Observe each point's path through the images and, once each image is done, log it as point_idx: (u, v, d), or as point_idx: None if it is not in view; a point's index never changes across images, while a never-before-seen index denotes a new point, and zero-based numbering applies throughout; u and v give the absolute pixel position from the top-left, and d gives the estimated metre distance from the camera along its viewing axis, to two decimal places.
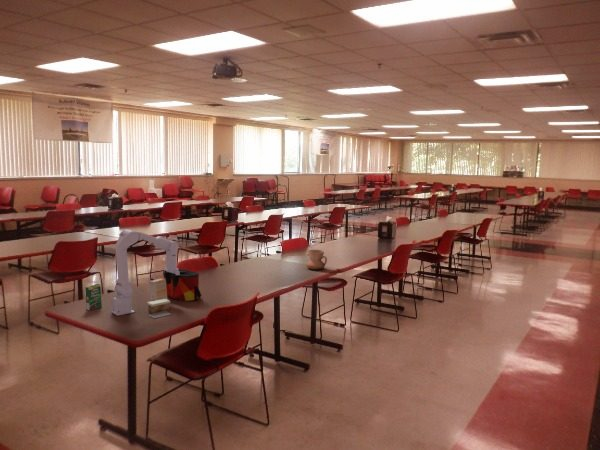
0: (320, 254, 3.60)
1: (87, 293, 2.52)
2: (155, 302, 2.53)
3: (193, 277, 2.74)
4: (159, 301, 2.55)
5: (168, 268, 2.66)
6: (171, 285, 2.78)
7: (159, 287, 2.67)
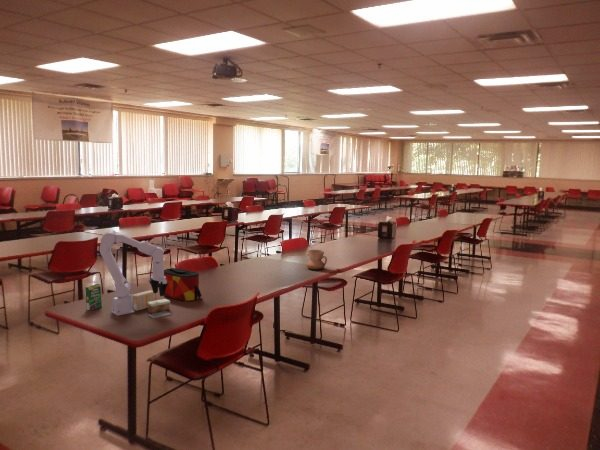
0: (320, 254, 3.60)
1: (87, 293, 2.52)
2: (155, 302, 2.53)
3: (193, 277, 2.74)
4: (159, 301, 2.55)
5: (154, 276, 2.51)
6: (171, 285, 2.78)
7: (143, 303, 2.58)
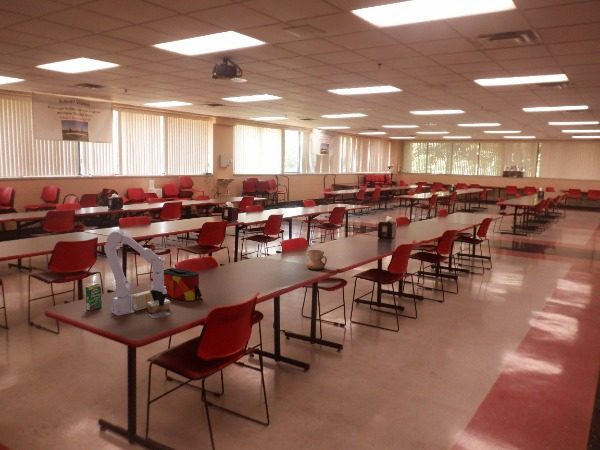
0: (320, 254, 3.60)
1: (87, 293, 2.52)
2: (155, 302, 2.53)
3: (193, 277, 2.74)
4: None
5: (155, 286, 2.51)
6: (171, 285, 2.78)
7: (143, 303, 2.58)
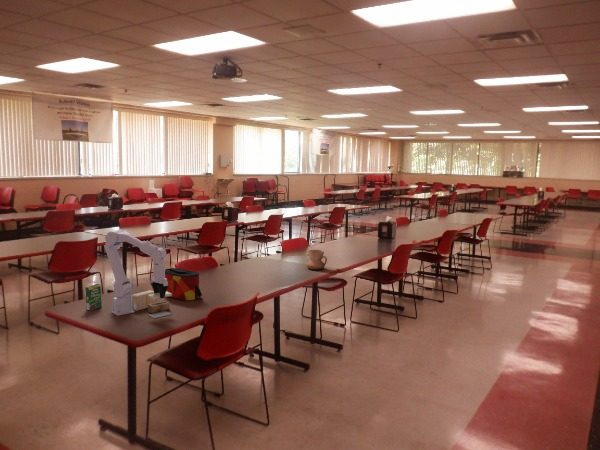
0: (320, 254, 3.60)
1: (87, 293, 2.52)
2: (156, 295, 2.45)
3: (194, 277, 2.75)
4: None
5: (155, 278, 2.44)
6: (171, 285, 2.78)
7: (143, 303, 2.58)
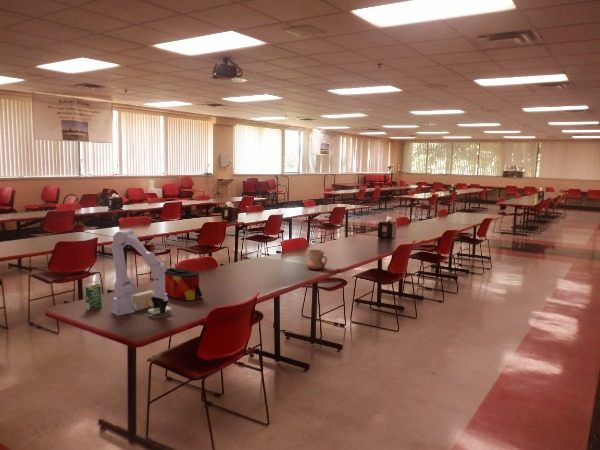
0: (320, 254, 3.60)
1: (87, 293, 2.52)
2: (157, 310, 2.46)
3: (194, 277, 2.75)
4: None
5: (155, 293, 2.45)
6: (172, 285, 2.78)
7: (143, 303, 2.58)
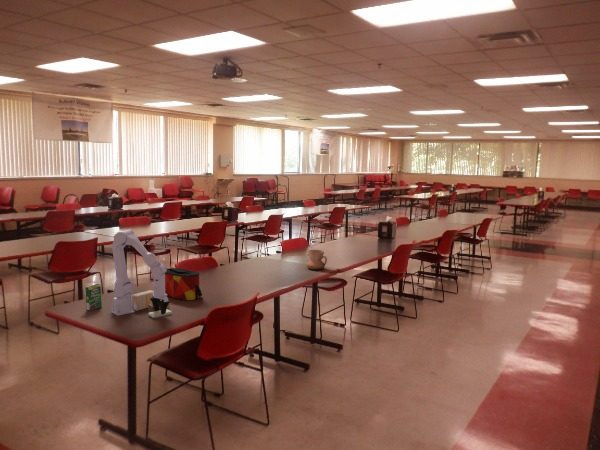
0: (320, 254, 3.60)
1: (87, 293, 2.52)
2: (157, 313, 2.46)
3: (194, 276, 2.75)
4: (160, 312, 2.49)
5: (156, 294, 2.45)
6: (172, 285, 2.79)
7: (143, 303, 2.58)
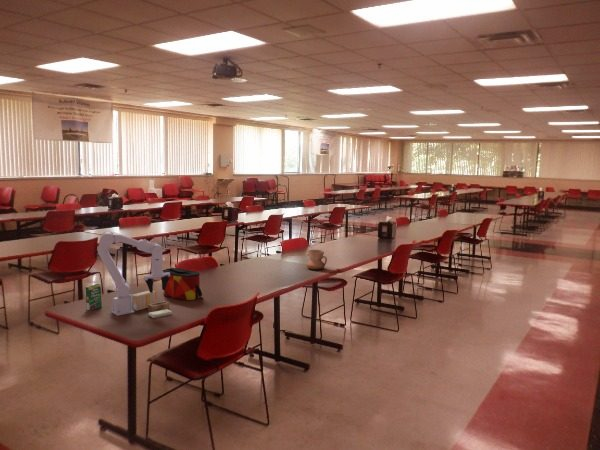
0: (320, 254, 3.60)
1: (87, 293, 2.52)
2: (157, 313, 2.46)
3: (194, 276, 2.75)
4: (160, 312, 2.49)
5: None
6: (172, 285, 2.79)
7: (143, 303, 2.58)
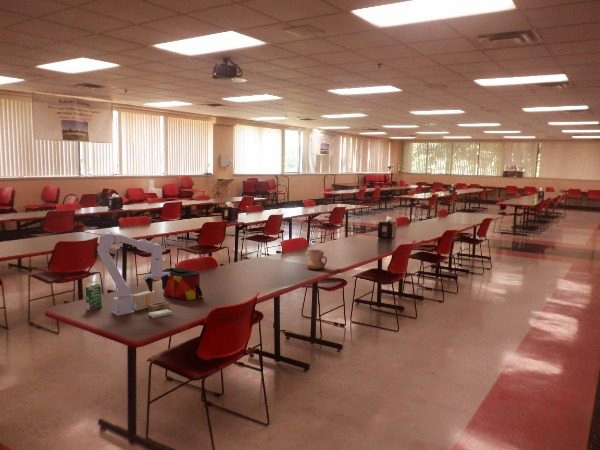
0: (320, 254, 3.60)
1: (87, 293, 2.52)
2: (157, 313, 2.46)
3: (194, 276, 2.76)
4: (160, 312, 2.49)
5: None
6: (172, 285, 2.79)
7: (143, 303, 2.58)
